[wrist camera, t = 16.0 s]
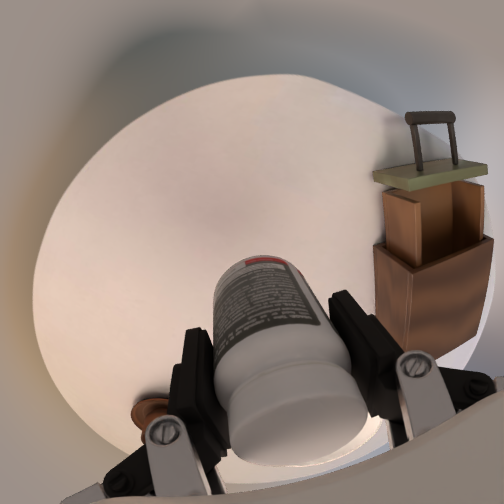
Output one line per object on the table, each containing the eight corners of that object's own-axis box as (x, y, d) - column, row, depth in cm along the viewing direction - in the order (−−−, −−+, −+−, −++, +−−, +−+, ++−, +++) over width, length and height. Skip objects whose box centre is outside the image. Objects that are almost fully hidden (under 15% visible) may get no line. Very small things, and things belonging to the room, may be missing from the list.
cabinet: (372, 245, 32) (412, 274, 24) (452, 220, 33) (494, 238, 25) (374, 340, 38) (401, 377, 30) (445, 308, 38) (476, 335, 30)
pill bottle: (196, 310, 14) (184, 457, 6) (247, 234, 13) (286, 362, 5) (271, 345, 15) (306, 476, 8) (323, 281, 14) (406, 402, 6)
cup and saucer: (127, 386, 36) (119, 416, 31) (204, 395, 38) (203, 427, 32) (138, 427, 40) (133, 454, 35) (203, 435, 42) (203, 462, 36)
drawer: (362, 116, 26) (397, 111, 20) (444, 112, 26) (481, 111, 20) (381, 284, 33) (409, 311, 27) (452, 256, 34) (482, 275, 27)
